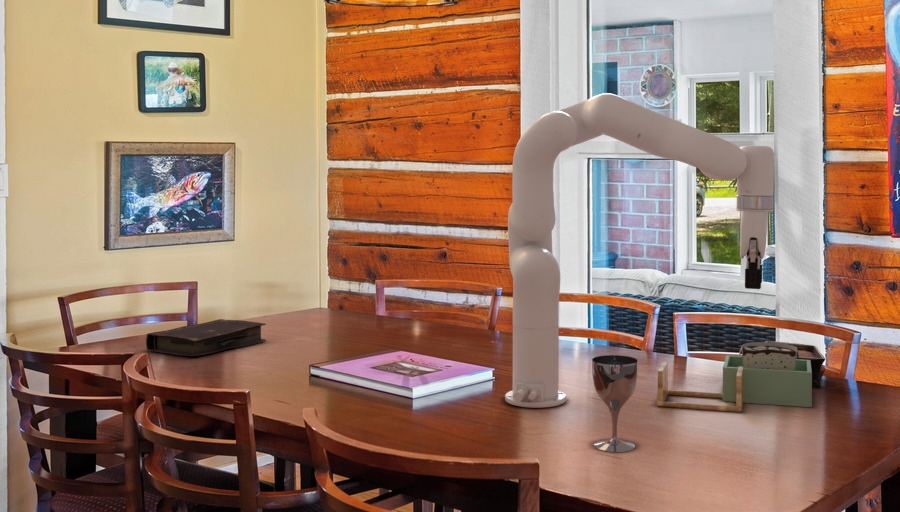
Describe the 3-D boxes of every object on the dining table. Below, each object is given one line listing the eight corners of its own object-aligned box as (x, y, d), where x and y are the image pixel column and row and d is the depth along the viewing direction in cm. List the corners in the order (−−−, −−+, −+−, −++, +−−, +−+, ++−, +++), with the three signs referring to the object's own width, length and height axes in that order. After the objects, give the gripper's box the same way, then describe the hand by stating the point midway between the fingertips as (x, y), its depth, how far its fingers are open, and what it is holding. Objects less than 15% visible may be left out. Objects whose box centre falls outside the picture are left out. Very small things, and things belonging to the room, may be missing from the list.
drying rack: (741, 412, 190) (741, 377, 190) (656, 406, 195) (657, 371, 195) (743, 399, 201) (743, 365, 201) (663, 393, 206) (663, 360, 206)
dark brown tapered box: (825, 383, 223) (821, 339, 225) (828, 389, 206) (824, 341, 208) (761, 384, 227) (757, 341, 229) (759, 390, 210) (756, 343, 212)
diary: (145, 351, 248) (145, 331, 249) (218, 335, 270) (218, 317, 270) (196, 359, 239) (196, 338, 239) (268, 342, 261) (268, 323, 261)
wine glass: (633, 438, 173) (633, 355, 173) (641, 452, 165) (641, 364, 165) (589, 439, 172) (589, 355, 172) (594, 453, 164) (594, 365, 164)
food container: (794, 389, 206) (794, 342, 206) (799, 396, 199) (799, 348, 199) (735, 387, 207) (735, 341, 207) (739, 394, 201) (739, 346, 201)
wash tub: (811, 407, 195) (811, 372, 195) (722, 401, 199) (722, 367, 199) (810, 392, 207) (810, 359, 207) (726, 387, 212) (726, 355, 212)
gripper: (738, 202, 212) (737, 279, 212) (734, 205, 196) (733, 290, 196) (773, 203, 210) (772, 281, 210) (772, 206, 194) (771, 292, 194)
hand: (753, 285), depth 203 cm, fingers open, 9 cm apart
